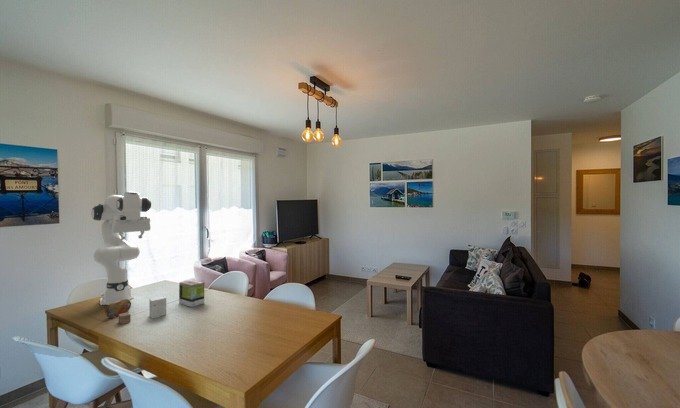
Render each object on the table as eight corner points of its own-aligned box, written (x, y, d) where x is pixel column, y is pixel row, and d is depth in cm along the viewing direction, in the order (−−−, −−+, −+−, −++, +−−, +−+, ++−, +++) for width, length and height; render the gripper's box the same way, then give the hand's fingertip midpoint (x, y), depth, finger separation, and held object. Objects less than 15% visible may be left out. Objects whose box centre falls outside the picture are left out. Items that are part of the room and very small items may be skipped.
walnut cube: (118, 322, 166) (118, 314, 166) (127, 319, 169) (127, 312, 169) (120, 324, 163) (120, 316, 163) (130, 321, 167) (130, 314, 167)
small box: (164, 312, 181) (164, 295, 181) (166, 314, 177) (166, 297, 177) (149, 315, 175) (149, 298, 175) (151, 318, 171) (151, 300, 171)
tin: (108, 319, 169) (108, 305, 169) (103, 319, 170) (103, 305, 170) (131, 310, 184) (131, 297, 184) (127, 310, 185) (127, 297, 185)
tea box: (204, 303, 198) (205, 281, 198) (190, 307, 190) (190, 285, 190) (192, 299, 206) (192, 278, 206) (178, 303, 198) (178, 282, 198)
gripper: (147, 216, 192) (147, 237, 191) (110, 217, 174) (110, 240, 174) (152, 216, 188) (152, 237, 188) (114, 217, 171) (114, 240, 171)
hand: (131, 239), depth 181 cm, fingers open, 8 cm apart
